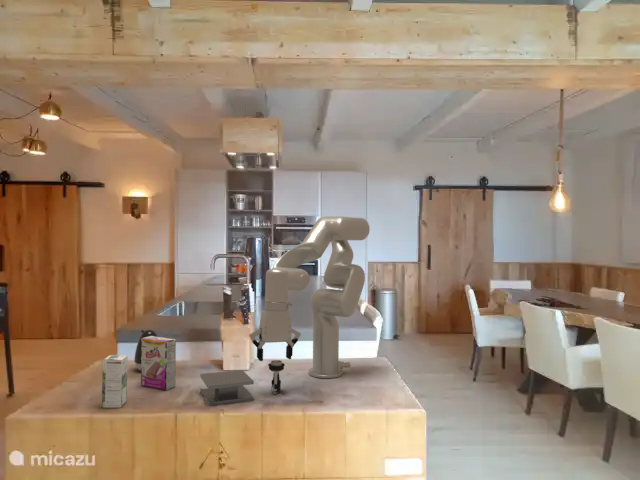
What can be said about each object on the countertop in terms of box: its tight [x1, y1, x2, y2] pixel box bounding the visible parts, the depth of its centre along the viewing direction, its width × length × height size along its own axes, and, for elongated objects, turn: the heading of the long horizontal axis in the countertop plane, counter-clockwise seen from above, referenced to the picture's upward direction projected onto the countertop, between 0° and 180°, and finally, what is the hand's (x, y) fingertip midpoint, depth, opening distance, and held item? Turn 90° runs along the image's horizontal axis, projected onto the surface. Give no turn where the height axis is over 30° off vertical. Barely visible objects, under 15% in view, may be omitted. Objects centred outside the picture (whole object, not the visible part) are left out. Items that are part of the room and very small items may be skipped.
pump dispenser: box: [133, 329, 159, 372], centre depth 196 cm, size 10×10×15 cm
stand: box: [199, 369, 255, 407], centre depth 166 cm, size 14×14×6 cm
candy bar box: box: [140, 336, 177, 391], centre depth 175 cm, size 11×5×16 cm, turn 65°
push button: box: [268, 359, 285, 395], centre depth 171 cm, size 7×5×10 cm
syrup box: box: [101, 354, 128, 409], centre depth 157 cm, size 6×6×14 cm
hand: (274, 359), depth 170 cm, fingers open, 9 cm apart
